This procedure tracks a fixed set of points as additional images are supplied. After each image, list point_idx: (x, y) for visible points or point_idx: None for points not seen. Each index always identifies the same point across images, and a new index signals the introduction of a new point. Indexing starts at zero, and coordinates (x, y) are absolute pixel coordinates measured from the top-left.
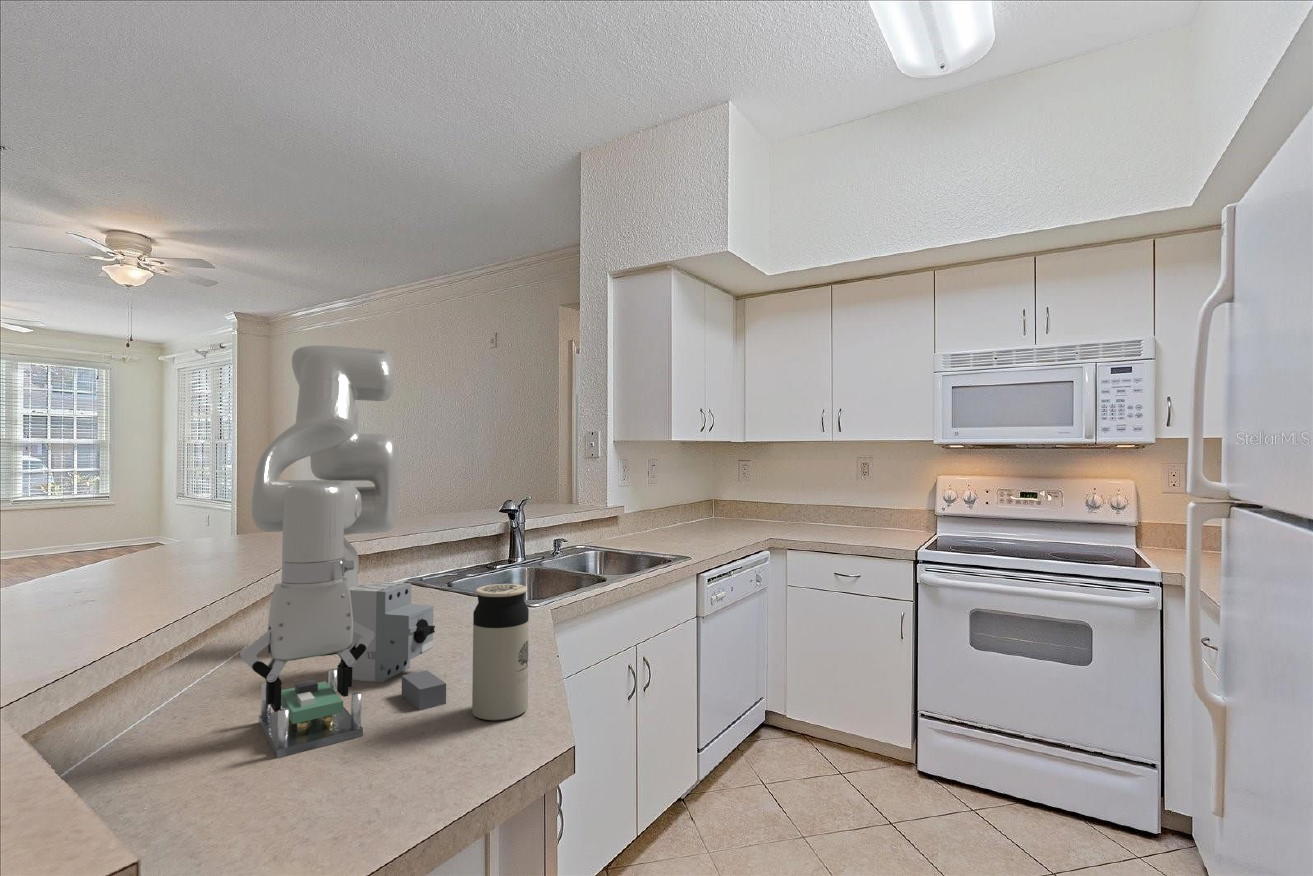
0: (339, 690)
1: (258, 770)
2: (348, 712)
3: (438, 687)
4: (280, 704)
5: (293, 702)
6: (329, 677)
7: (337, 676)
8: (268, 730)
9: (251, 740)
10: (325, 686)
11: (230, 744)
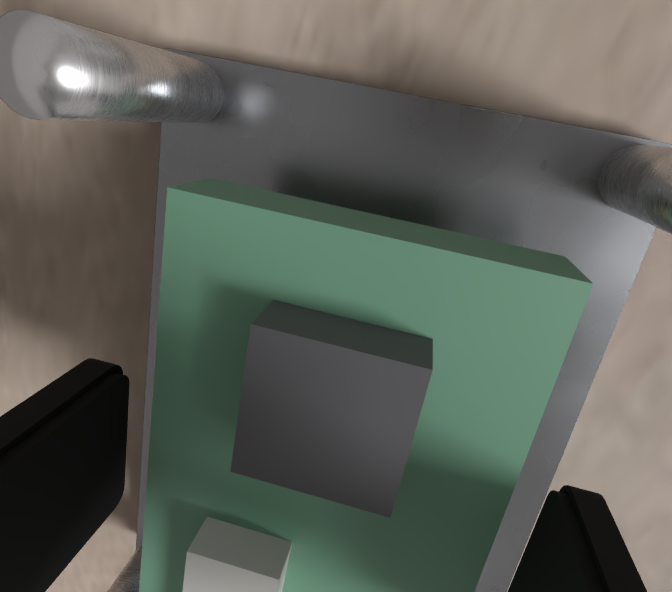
0: (531, 562)
1: (86, 566)
2: (555, 466)
3: None
4: (97, 524)
5: (179, 536)
6: None
7: (590, 587)
8: (152, 350)
9: (112, 290)
10: (500, 423)
11: (34, 258)
